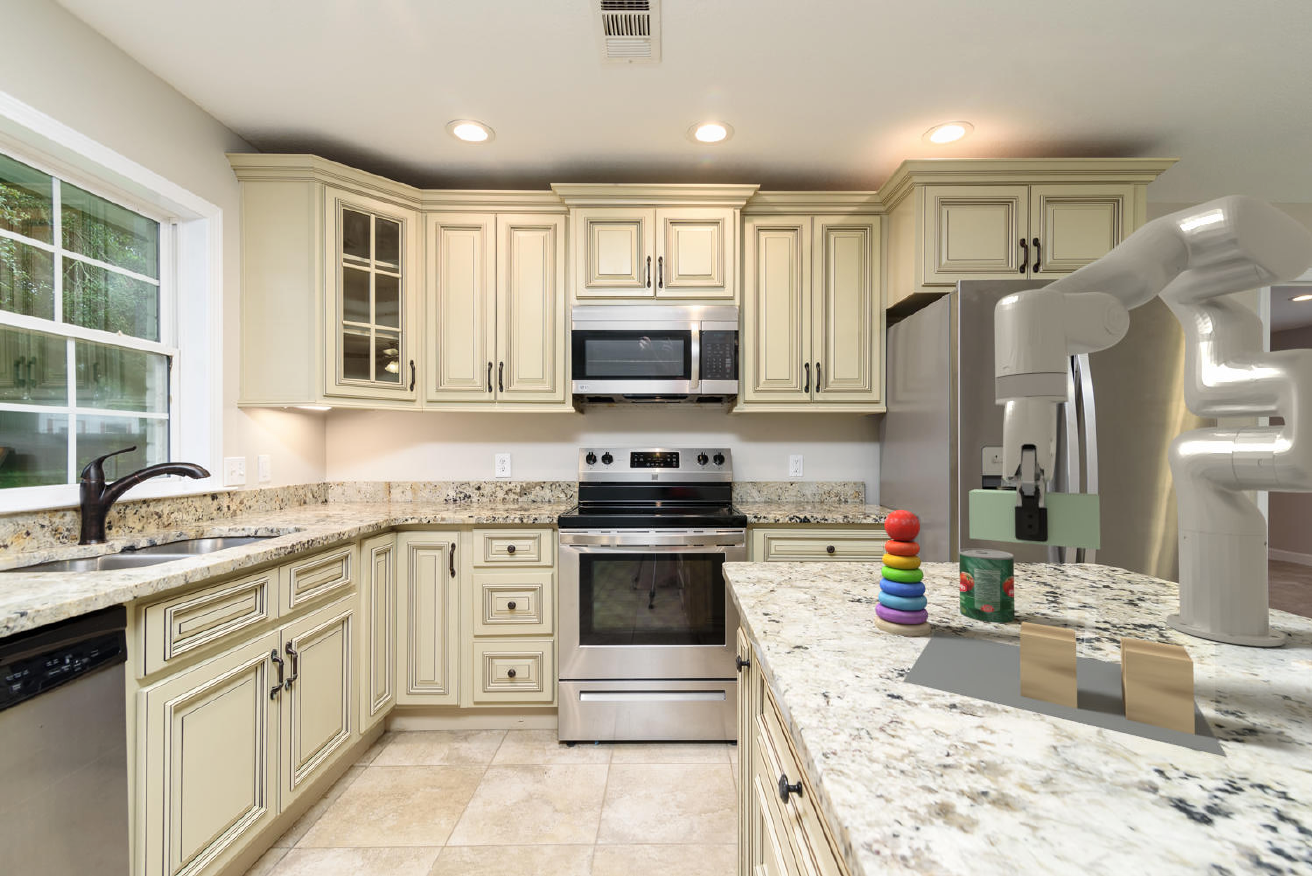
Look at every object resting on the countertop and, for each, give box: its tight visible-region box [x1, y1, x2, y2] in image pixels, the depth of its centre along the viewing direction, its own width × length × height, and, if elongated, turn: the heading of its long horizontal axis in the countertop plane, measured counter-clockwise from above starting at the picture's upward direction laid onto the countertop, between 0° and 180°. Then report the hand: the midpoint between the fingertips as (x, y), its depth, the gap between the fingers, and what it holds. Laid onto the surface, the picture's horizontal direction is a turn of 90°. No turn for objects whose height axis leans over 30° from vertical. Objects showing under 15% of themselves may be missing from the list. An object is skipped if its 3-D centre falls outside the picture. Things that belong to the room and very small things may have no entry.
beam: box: [968, 488, 1101, 551], centre depth 68 cm, size 5×13×6 cm, turn 52°
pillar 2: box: [1120, 636, 1195, 735], centre depth 56 cm, size 5×5×7 cm
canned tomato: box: [958, 548, 1016, 624], centre depth 91 cm, size 8×8×11 cm
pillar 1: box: [1019, 621, 1077, 708], centre depth 62 cm, size 5×5×7 cm
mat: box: [903, 631, 1227, 758], centre depth 66 cm, size 22×27×1 cm
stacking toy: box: [873, 509, 932, 637], centre depth 85 cm, size 8×8×19 cm
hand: (1032, 535), depth 68 cm, fingers closed on beam, 5 cm apart
